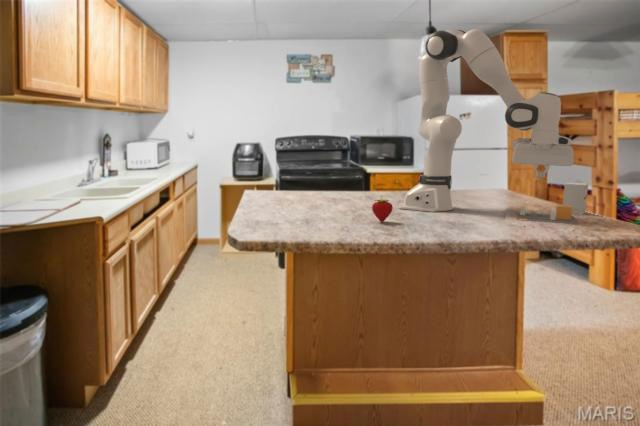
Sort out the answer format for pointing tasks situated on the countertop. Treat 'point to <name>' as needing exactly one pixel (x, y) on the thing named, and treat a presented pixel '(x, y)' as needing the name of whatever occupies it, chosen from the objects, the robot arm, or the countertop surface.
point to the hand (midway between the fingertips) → (540, 177)
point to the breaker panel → (544, 218)
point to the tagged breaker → (553, 215)
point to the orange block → (563, 211)
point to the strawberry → (382, 209)
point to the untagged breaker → (522, 210)
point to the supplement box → (576, 197)
